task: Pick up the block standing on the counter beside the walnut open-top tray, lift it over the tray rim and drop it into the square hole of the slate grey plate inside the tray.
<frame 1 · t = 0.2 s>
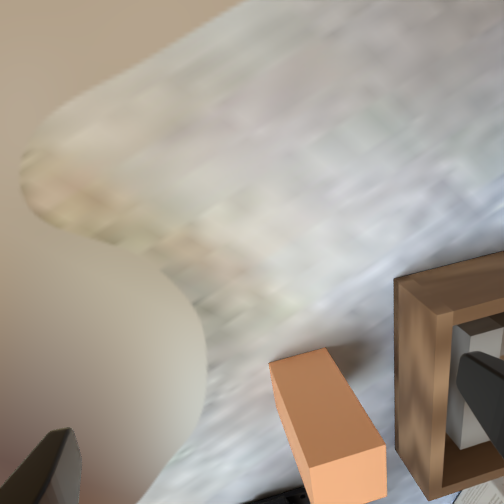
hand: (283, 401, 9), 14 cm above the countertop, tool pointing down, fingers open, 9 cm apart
supplement box: (489, 495, 39), on the countertop
tray: (491, 345, 30), on the countertop
block: (300, 377, 27), on the countertop
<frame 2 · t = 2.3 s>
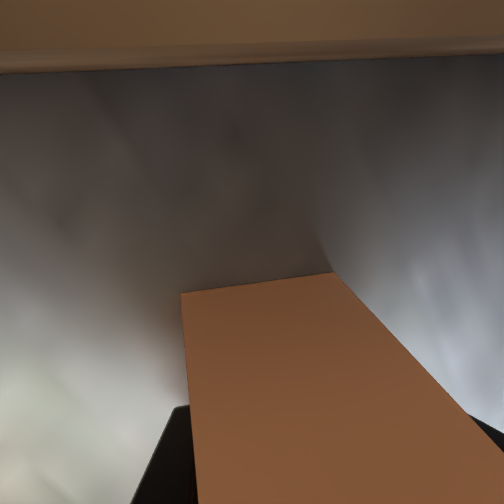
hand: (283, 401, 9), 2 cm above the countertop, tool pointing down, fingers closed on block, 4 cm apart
block: (262, 347, 11), on the countertop, touching gripper
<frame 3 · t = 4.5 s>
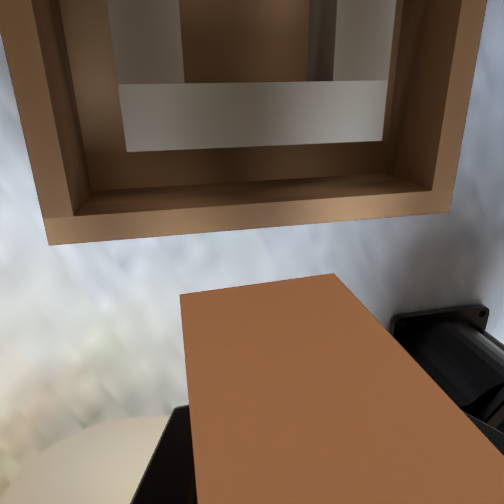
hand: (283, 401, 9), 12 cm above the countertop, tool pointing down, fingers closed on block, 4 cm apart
tray: (241, 12, 17), on the countertop
block: (262, 348, 11), point 10 cm above the countertop, touching gripper
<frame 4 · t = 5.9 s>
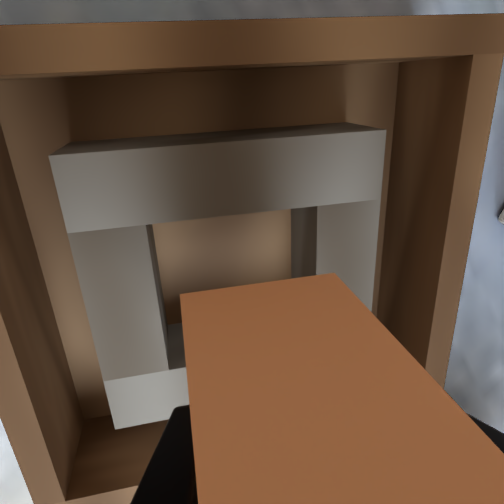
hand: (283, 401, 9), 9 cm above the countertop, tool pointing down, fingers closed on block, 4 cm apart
tray: (224, 252, 17), on the countertop
block: (262, 348, 11), point 7 cm above the countertop, touching gripper
when the fingers open (4 cm above the countertop, at t = 7.0 s): block drops 2 cm, resting on tray.
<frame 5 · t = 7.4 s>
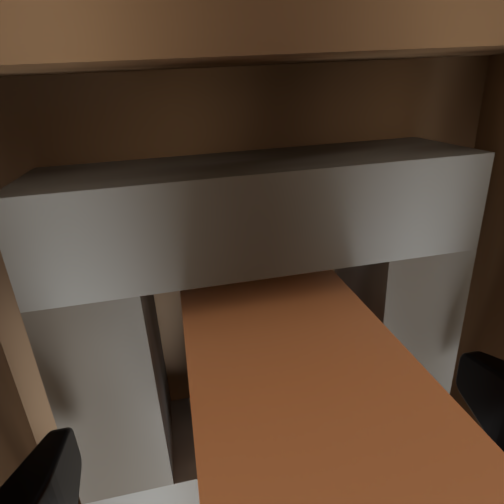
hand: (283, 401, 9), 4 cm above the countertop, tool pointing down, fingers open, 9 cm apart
tray: (246, 305, 13), on the countertop
block: (251, 316, 12), point 1 cm above the countertop, touching tray
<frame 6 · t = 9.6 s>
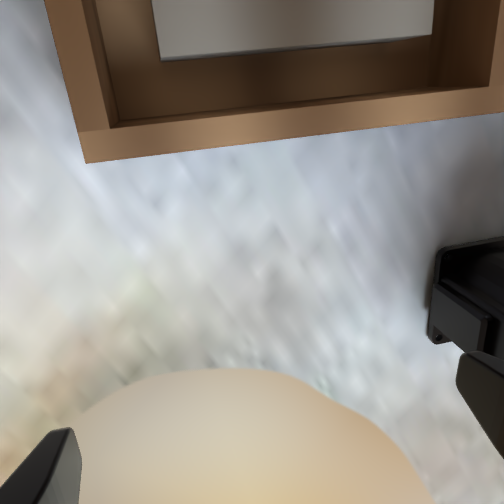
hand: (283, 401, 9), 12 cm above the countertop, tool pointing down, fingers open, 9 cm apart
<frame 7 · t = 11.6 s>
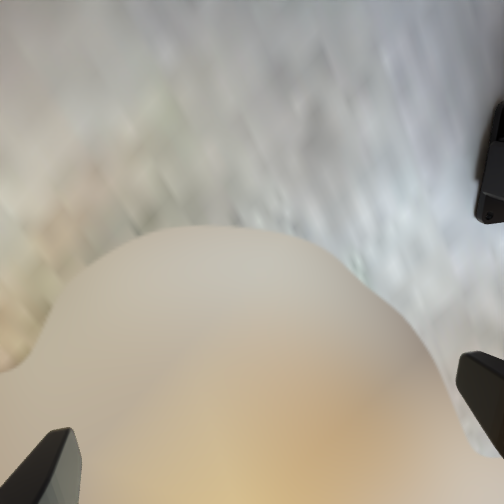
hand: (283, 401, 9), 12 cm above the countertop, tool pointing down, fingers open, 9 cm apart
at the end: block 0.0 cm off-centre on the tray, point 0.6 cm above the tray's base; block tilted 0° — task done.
